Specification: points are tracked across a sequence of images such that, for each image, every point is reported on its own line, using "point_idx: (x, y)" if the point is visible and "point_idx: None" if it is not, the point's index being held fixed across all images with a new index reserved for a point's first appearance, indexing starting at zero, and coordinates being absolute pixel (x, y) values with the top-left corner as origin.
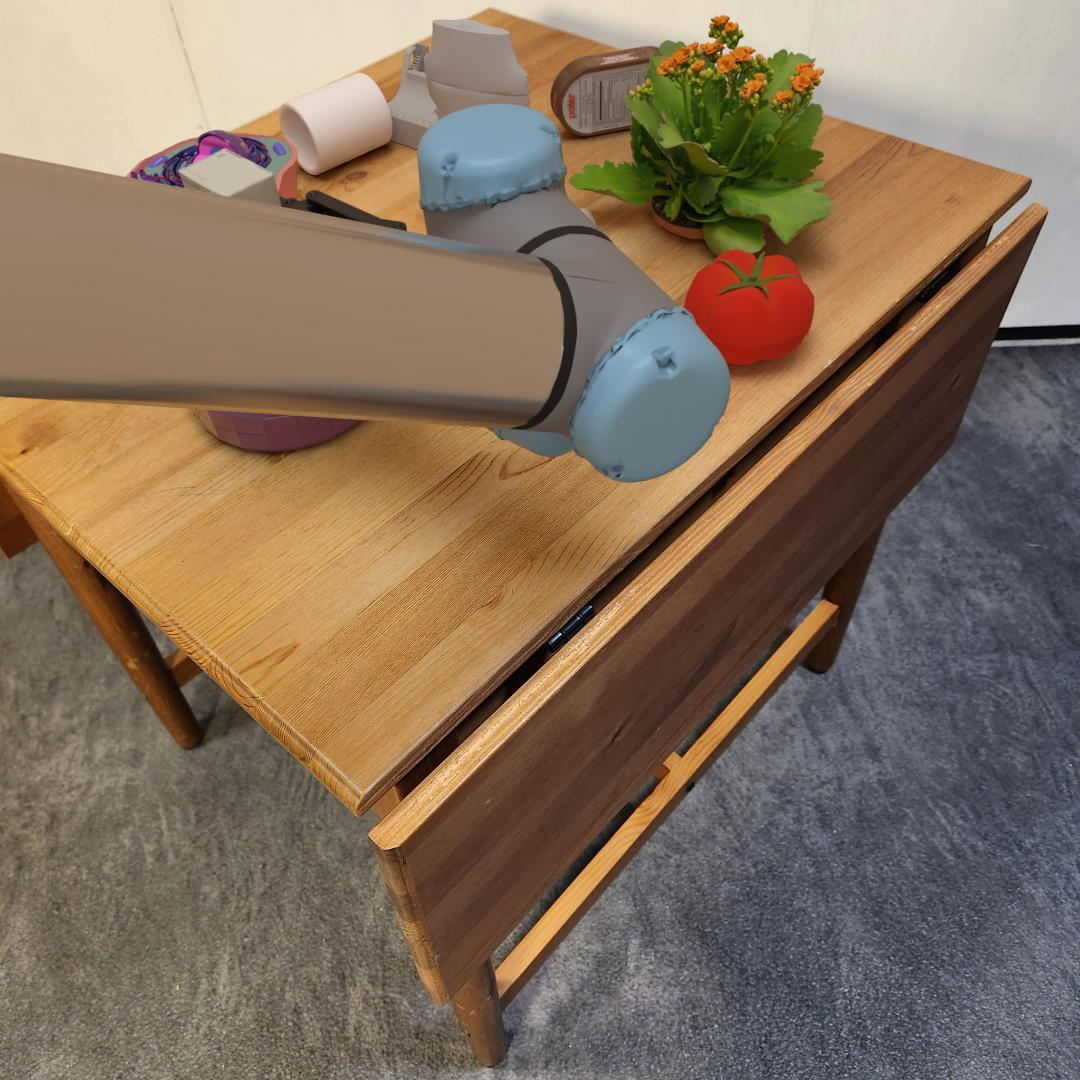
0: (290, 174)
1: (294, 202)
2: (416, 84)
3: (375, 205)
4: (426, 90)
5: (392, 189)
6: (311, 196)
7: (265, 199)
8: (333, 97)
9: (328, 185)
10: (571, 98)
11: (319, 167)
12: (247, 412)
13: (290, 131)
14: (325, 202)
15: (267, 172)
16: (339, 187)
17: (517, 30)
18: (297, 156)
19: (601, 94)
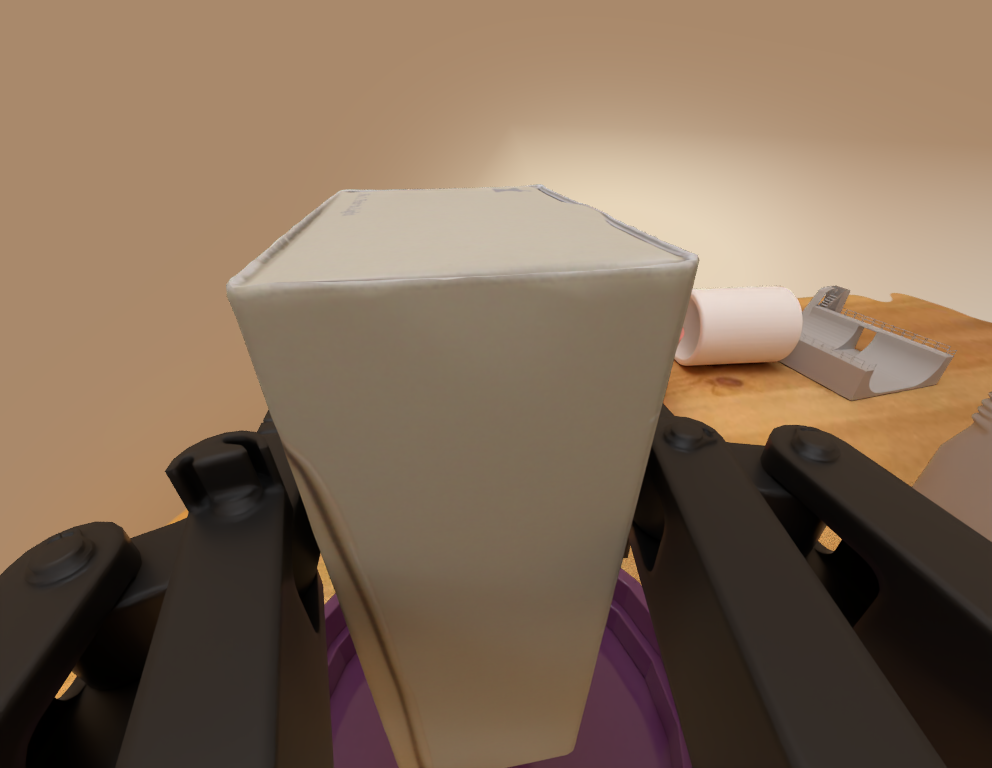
0: None
1: (710, 451)
2: (820, 320)
3: (747, 423)
4: (832, 328)
5: (773, 412)
6: (805, 456)
7: (564, 406)
8: (743, 298)
9: (693, 379)
10: None
11: (692, 359)
12: (376, 752)
13: None
14: (914, 539)
15: (660, 248)
16: (705, 386)
17: (932, 309)
18: (682, 337)
19: None
